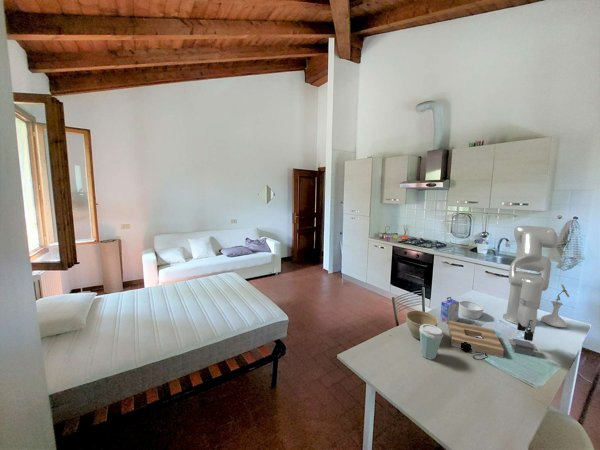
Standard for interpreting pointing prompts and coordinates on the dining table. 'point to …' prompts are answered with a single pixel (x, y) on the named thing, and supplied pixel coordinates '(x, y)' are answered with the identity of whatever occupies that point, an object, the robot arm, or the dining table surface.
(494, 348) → the wooden board
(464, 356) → the dining table surface
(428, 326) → the disposable coffee cup
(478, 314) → the ramekin
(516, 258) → the robot arm
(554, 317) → the flower in vase
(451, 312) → the ink cartridge box
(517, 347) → the flanged block
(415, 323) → the planter bowl
